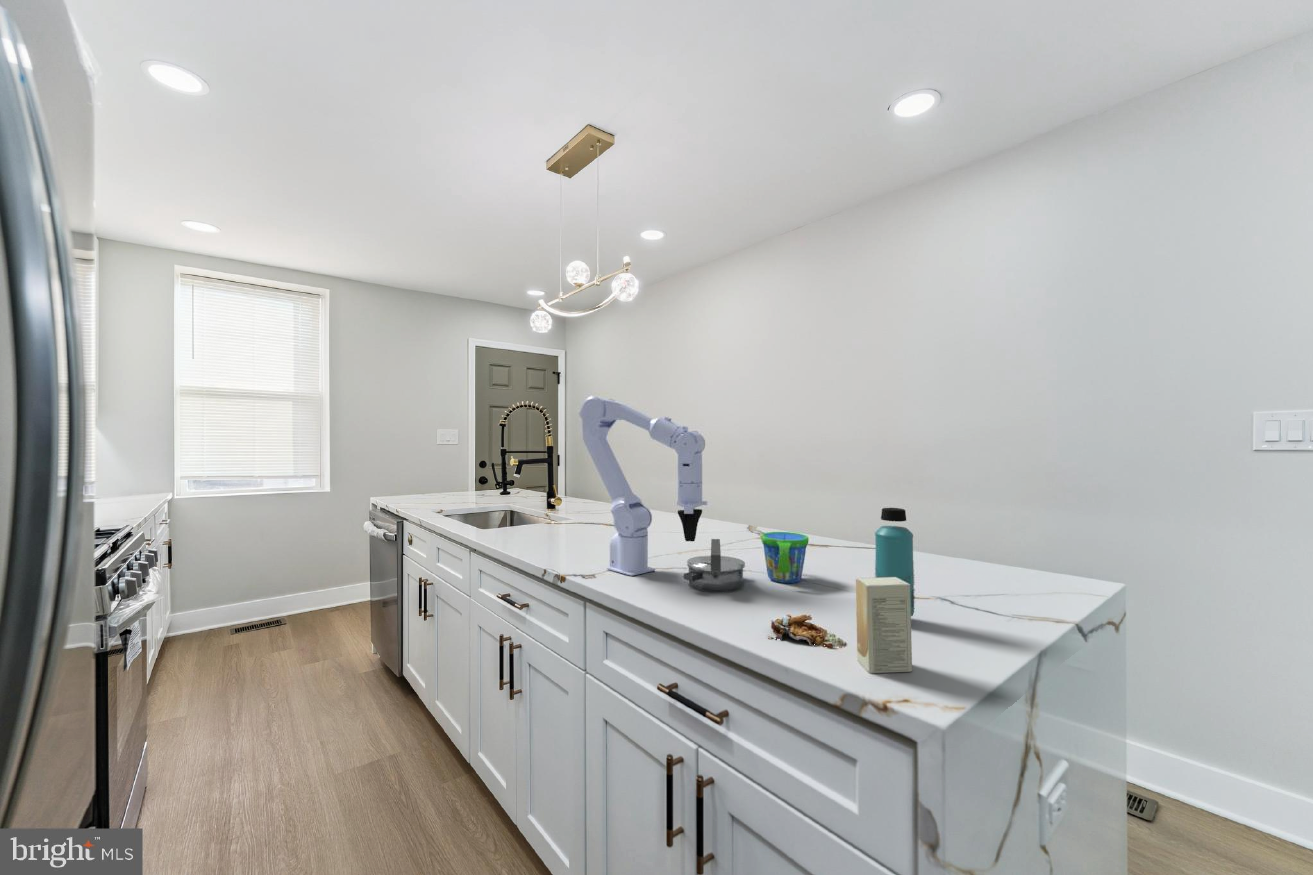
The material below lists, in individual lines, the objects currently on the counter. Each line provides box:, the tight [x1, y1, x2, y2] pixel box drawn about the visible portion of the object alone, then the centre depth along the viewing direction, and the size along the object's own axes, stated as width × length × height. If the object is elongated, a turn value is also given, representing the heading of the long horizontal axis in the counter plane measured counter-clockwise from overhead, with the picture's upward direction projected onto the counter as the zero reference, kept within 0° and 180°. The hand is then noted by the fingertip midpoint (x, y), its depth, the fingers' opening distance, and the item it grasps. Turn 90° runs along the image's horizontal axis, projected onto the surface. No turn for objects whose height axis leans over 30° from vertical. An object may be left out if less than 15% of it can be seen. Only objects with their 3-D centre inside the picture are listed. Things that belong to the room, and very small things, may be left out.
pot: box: [683, 561, 746, 593], centre depth 118 cm, size 18×12×4 cm, turn 134°
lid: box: [686, 538, 745, 572], centre depth 118 cm, size 18×13×4 cm
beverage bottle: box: [874, 507, 916, 617], centre depth 95 cm, size 6×7×20 cm
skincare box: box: [855, 577, 913, 674], centre depth 75 cm, size 6×4×12 cm
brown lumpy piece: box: [765, 614, 846, 649], centre depth 87 cm, size 7×12×4 cm, turn 65°
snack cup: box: [760, 531, 809, 584], centre depth 123 cm, size 16×10×10 cm
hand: (690, 540), depth 125 cm, fingers closed
